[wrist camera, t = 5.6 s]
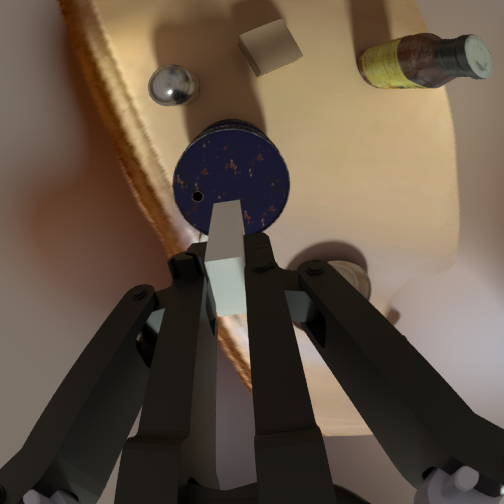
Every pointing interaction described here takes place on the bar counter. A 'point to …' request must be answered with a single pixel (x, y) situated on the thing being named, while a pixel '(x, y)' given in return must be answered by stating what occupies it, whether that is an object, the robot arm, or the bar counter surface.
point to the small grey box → (269, 47)
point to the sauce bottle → (425, 61)
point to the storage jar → (231, 176)
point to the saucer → (350, 280)
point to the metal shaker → (173, 86)
